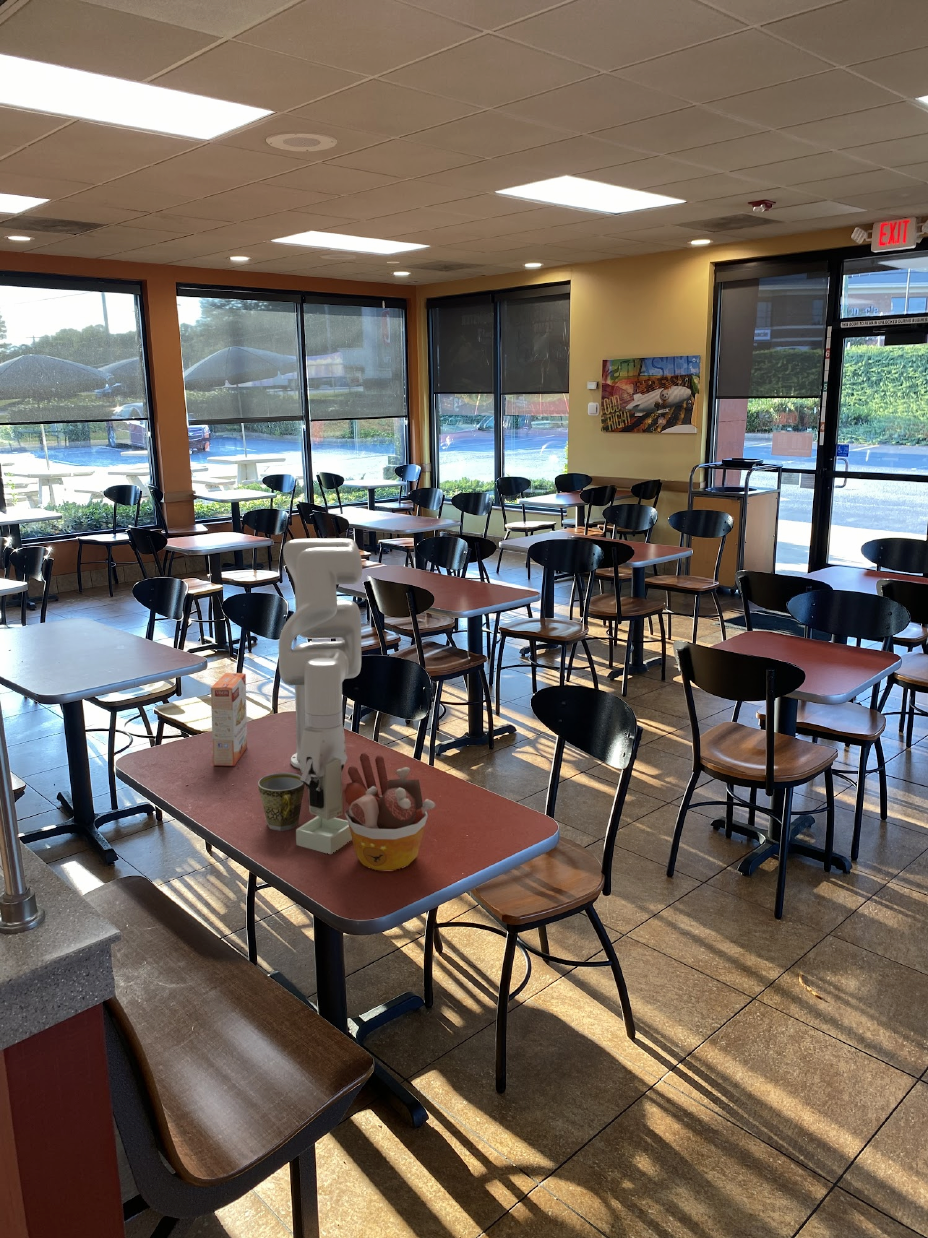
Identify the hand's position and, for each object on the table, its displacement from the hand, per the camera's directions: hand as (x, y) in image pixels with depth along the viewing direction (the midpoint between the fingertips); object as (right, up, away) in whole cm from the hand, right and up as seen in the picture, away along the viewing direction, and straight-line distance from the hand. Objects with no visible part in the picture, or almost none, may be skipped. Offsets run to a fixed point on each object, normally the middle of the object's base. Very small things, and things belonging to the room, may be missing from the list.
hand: (325, 800), depth 192 cm
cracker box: (-32, +2, +48) cm, 58 cm away
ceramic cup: (-10, -8, +8) cm, 15 cm away
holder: (0, -9, +2) cm, 9 cm away
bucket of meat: (+13, -11, -5) cm, 18 cm away
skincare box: (0, -3, +1) cm, 3 cm away
